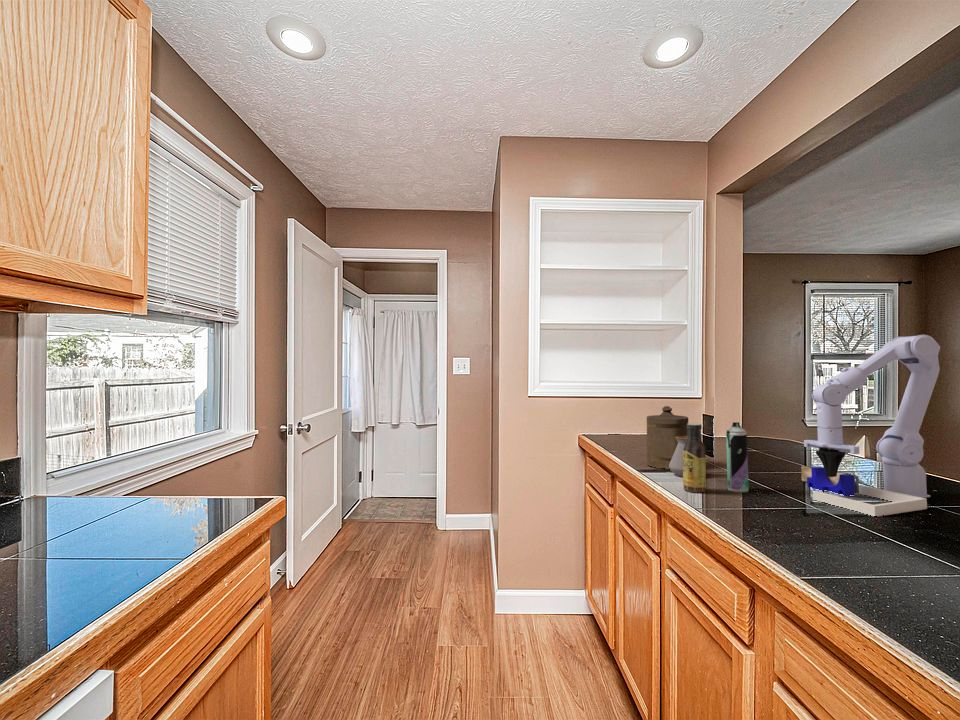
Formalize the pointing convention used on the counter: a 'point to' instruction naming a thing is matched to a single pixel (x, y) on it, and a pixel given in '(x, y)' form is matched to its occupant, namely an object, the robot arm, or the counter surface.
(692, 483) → the sauce bottle
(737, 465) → the spray can
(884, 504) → the cream square rimmed piece
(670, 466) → the coffee pot
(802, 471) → the board
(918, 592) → the counter surface
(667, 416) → the wooden container
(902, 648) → the counter surface
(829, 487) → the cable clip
